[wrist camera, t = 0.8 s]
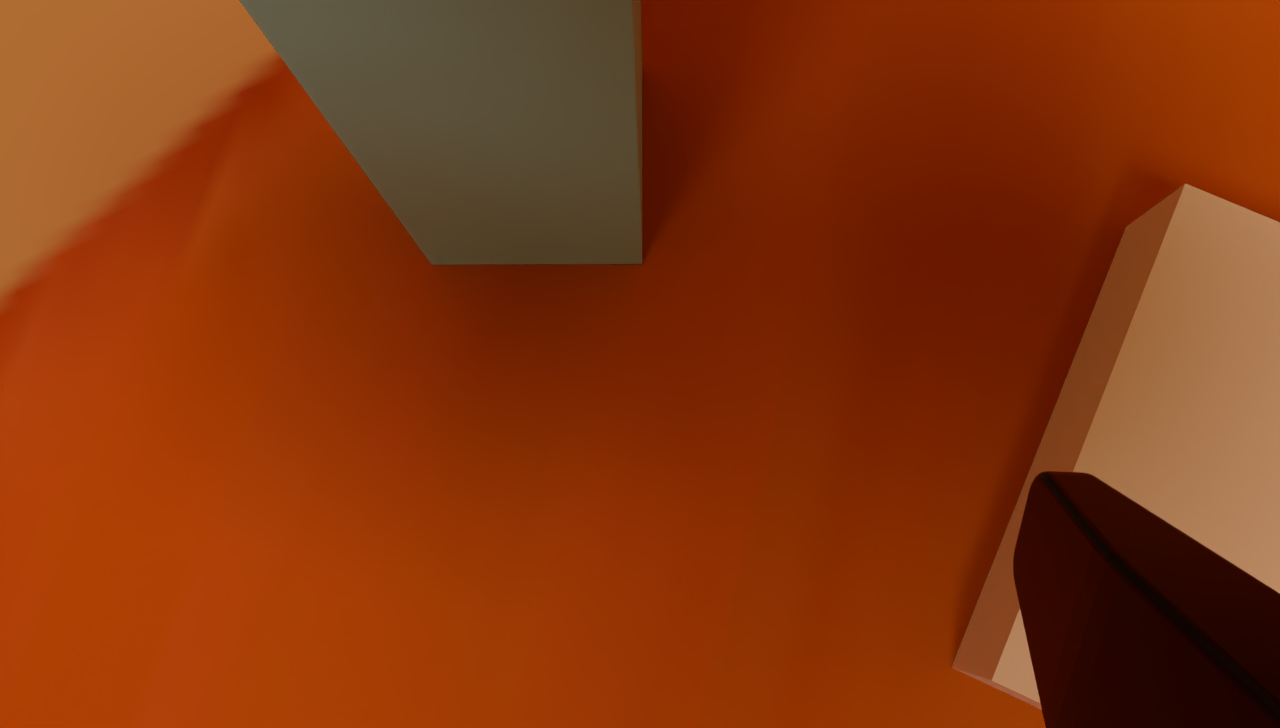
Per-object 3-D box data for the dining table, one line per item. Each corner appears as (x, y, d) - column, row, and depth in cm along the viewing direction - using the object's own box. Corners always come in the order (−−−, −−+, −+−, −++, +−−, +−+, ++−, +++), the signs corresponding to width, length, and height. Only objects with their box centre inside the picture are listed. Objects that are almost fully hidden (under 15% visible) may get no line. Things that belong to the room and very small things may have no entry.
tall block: (642, 263, 22) (625, -141, 10) (431, 265, 23) (140, -136, 10) (642, 67, 23) (628, -541, 11) (439, 68, 23) (180, -536, 11)
